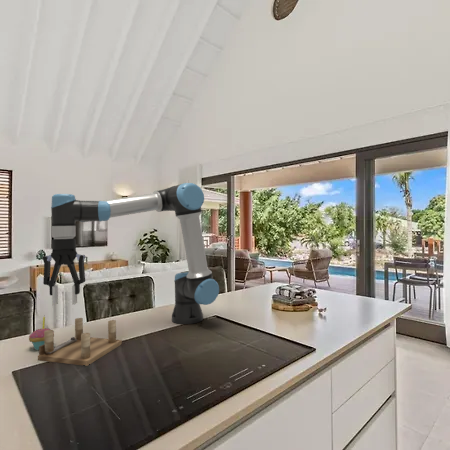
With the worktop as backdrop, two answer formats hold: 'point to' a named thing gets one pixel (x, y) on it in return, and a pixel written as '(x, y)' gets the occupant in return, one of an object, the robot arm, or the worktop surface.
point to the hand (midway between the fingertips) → (65, 303)
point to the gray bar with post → (50, 342)
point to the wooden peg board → (83, 347)
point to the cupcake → (38, 336)
